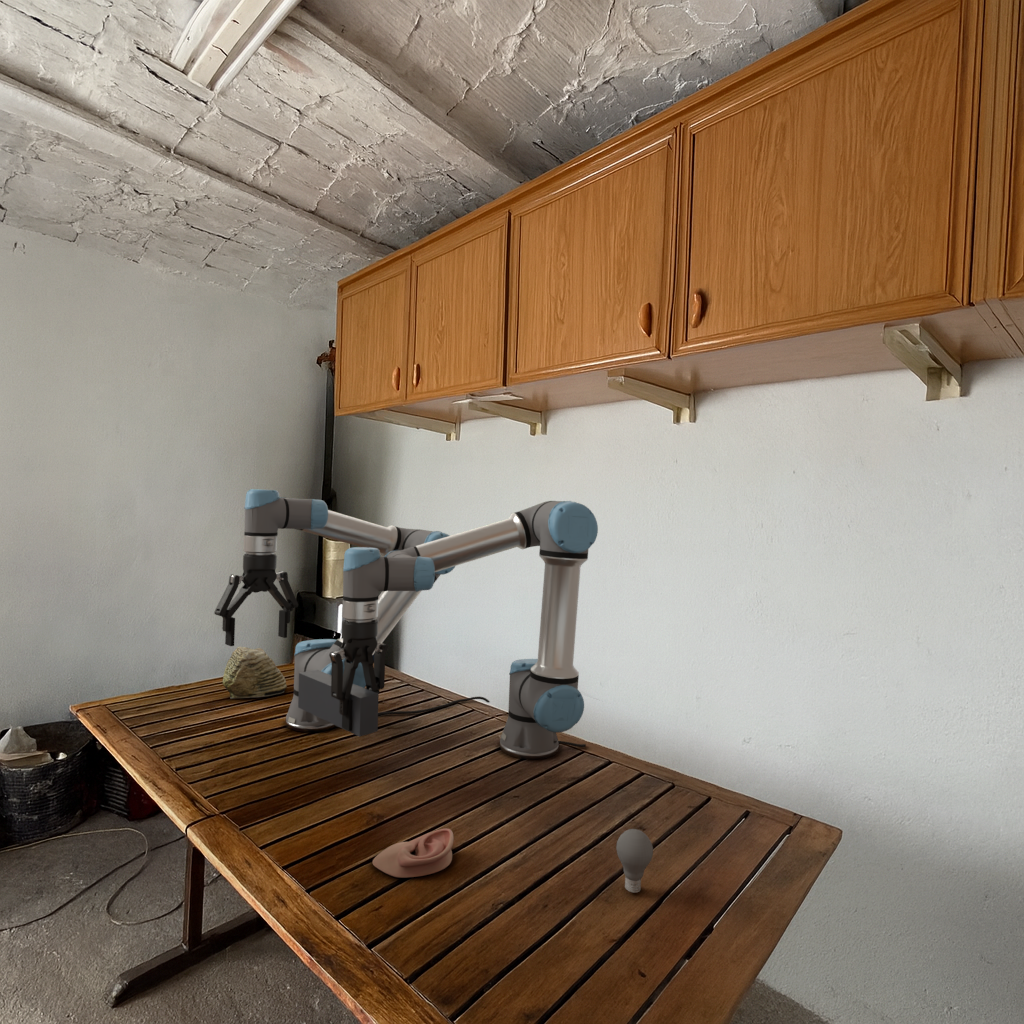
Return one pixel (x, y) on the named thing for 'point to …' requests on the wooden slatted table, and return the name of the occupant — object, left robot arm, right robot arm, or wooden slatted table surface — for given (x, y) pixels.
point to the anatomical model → (417, 855)
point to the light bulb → (634, 857)
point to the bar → (337, 702)
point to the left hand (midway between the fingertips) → (257, 641)
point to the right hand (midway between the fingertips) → (357, 725)
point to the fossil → (252, 674)
